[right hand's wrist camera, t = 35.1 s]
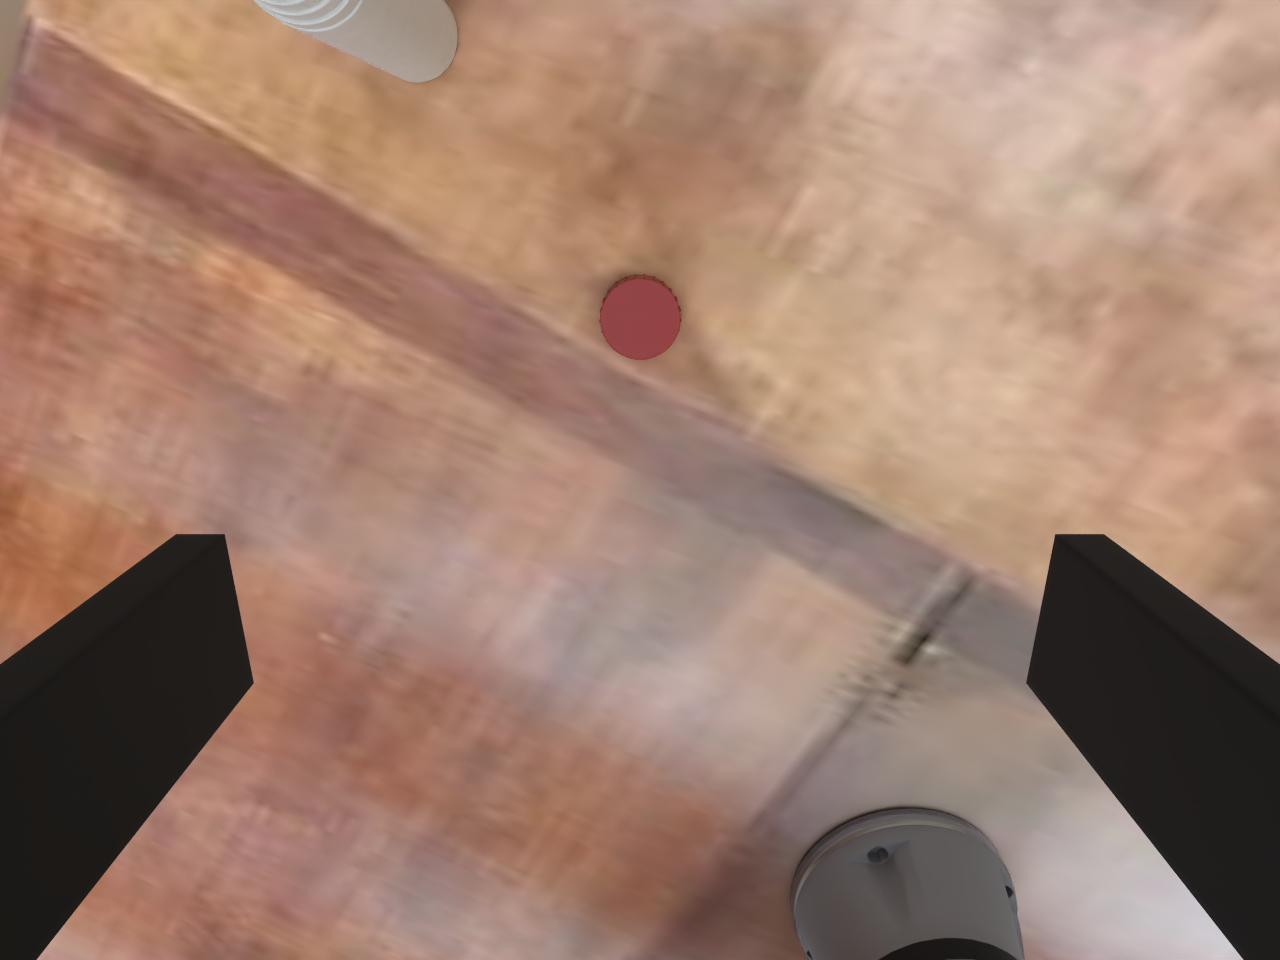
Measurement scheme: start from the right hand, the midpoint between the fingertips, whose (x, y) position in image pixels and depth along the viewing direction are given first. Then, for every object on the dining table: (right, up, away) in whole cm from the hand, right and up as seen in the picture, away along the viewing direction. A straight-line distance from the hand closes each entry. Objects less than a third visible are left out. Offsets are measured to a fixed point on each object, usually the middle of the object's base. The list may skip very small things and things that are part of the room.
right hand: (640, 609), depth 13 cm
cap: (0, +10, +29) cm, 31 cm away
